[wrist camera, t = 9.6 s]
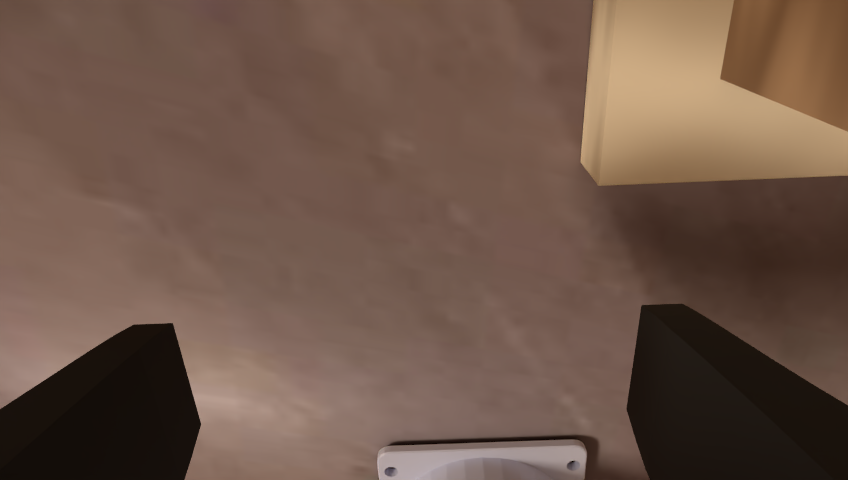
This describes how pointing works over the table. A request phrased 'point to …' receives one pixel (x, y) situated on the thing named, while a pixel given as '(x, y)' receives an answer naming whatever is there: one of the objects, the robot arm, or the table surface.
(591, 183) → the table surface
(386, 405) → the table surface
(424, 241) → the table surface
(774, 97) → the walnut block
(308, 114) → the table surface
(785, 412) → the robot arm
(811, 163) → the birch base
